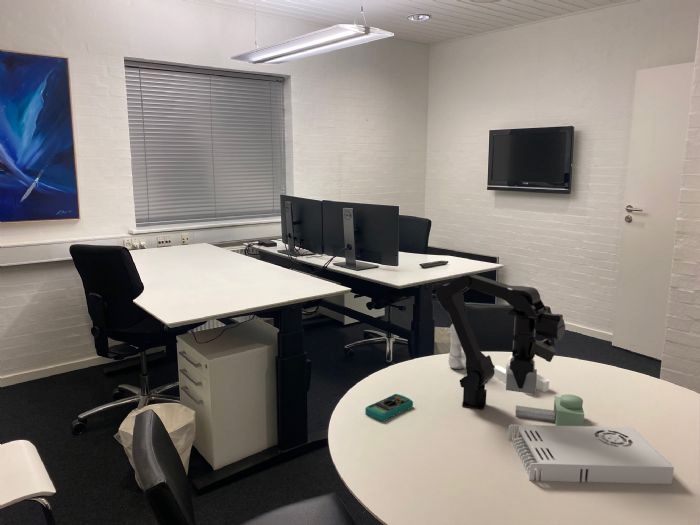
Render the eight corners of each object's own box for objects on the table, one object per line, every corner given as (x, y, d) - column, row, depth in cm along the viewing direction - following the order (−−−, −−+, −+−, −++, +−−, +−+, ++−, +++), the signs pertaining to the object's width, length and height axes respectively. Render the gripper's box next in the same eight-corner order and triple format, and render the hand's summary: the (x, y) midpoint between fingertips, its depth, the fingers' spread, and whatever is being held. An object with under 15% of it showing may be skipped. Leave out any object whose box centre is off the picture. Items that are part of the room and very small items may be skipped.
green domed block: (515, 421, 149) (517, 398, 148) (515, 406, 158) (516, 385, 157) (582, 431, 144) (585, 407, 142) (578, 415, 153) (580, 393, 152)
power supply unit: (507, 441, 139) (508, 424, 138) (631, 444, 138) (633, 427, 137) (529, 482, 121) (530, 463, 120) (672, 486, 119) (674, 467, 118)
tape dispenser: (511, 371, 187) (513, 343, 185) (550, 390, 171) (552, 360, 169) (490, 376, 183) (492, 347, 181) (528, 395, 167) (530, 364, 165)
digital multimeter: (414, 407, 158) (414, 398, 158) (382, 423, 148) (382, 414, 147) (396, 400, 163) (396, 391, 163) (364, 415, 153) (364, 406, 153)
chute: (505, 390, 147) (506, 373, 146) (507, 381, 153) (508, 365, 152) (535, 394, 144) (536, 377, 143) (535, 385, 150) (536, 369, 149)
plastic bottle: (448, 370, 187) (450, 317, 183) (447, 363, 193) (449, 312, 190) (466, 371, 186) (468, 318, 182) (465, 365, 192) (467, 313, 189)
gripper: (555, 345, 134) (551, 401, 137) (554, 325, 152) (550, 375, 154) (511, 340, 138) (507, 395, 141) (514, 322, 155) (511, 370, 158)
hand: (520, 383), depth 148 cm, fingers closed on chute, 6 cm apart
